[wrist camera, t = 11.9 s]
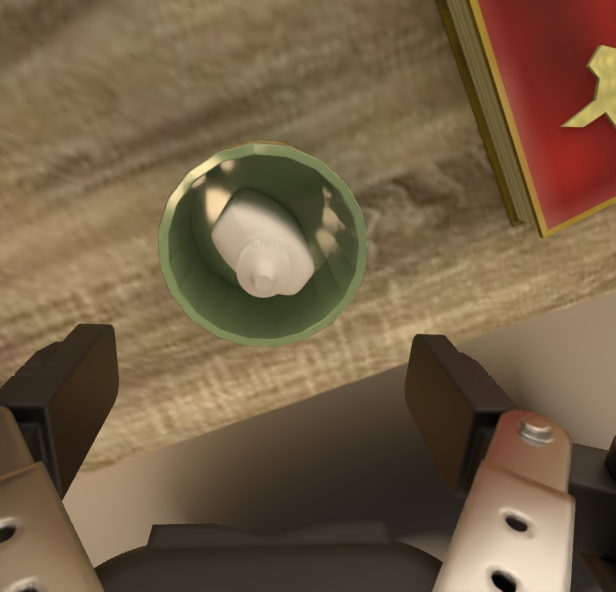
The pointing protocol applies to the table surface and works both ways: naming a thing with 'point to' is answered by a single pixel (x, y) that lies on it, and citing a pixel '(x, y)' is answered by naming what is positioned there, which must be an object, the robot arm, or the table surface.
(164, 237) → the pen cup
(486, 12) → the hardcover book
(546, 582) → the robot arm
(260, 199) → the eye dropper bottle
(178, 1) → the table surface
